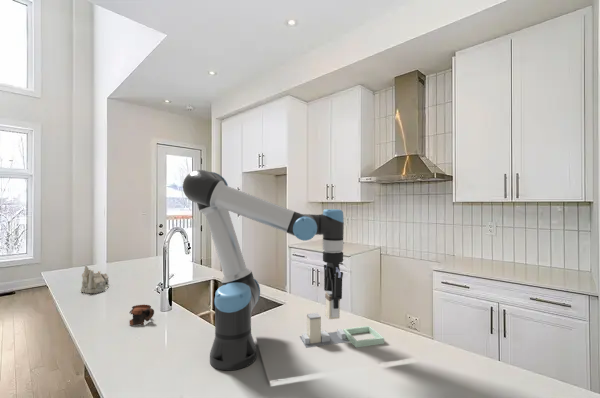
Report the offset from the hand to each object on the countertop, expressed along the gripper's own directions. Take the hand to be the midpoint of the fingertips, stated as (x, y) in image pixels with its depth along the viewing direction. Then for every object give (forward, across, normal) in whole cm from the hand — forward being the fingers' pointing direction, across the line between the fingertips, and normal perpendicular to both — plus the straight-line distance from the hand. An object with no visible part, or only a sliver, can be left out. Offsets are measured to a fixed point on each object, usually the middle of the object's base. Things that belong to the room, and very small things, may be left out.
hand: (332, 314), depth 114 cm
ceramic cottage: (+12, +99, +109) cm, 148 cm away
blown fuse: (+1, 0, 0) cm, 1 cm away
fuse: (+9, 0, +7) cm, 11 cm away
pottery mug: (+11, +39, +72) cm, 83 cm away
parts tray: (+10, -4, -11) cm, 15 cm away
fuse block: (+10, 0, +3) cm, 10 cm away
